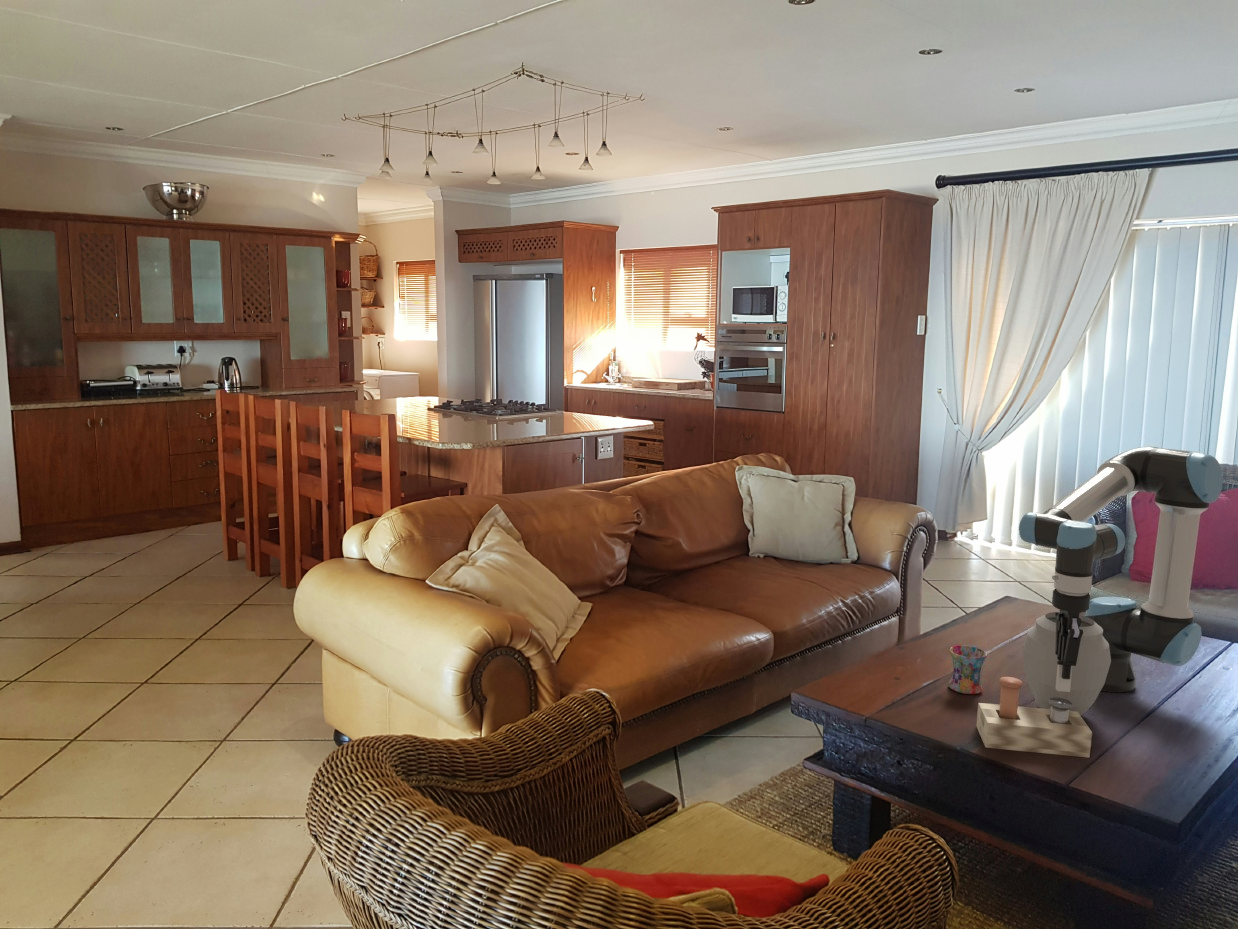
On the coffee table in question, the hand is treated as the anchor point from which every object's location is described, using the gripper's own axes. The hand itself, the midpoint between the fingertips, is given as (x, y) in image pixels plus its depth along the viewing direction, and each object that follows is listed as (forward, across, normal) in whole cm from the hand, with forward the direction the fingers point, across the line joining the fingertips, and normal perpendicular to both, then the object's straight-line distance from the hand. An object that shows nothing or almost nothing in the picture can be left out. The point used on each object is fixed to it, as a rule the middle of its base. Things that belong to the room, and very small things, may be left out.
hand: (1062, 690), depth 209 cm
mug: (+13, -28, -15) cm, 35 cm away
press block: (+13, 0, -6) cm, 14 cm away
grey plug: (+12, 0, 0) cm, 12 cm away
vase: (+14, -18, +5) cm, 23 cm away
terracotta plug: (+7, 0, -11) cm, 14 cm away
